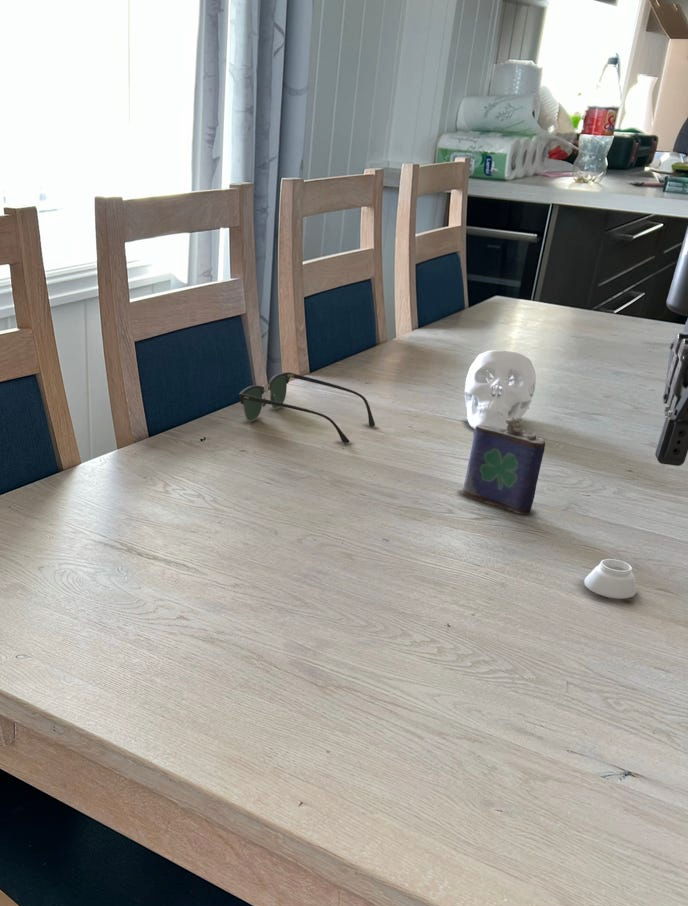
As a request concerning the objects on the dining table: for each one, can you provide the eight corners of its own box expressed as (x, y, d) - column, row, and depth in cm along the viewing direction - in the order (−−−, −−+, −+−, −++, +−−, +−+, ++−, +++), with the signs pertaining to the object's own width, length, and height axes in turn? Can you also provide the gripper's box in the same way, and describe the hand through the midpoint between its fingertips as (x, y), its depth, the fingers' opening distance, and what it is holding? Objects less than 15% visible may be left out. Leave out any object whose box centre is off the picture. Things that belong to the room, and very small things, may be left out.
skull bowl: (453, 422, 146) (470, 343, 146) (454, 448, 159) (470, 375, 160) (525, 432, 143) (542, 351, 143) (520, 458, 156) (536, 384, 157)
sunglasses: (340, 449, 136) (344, 414, 134) (233, 425, 143) (236, 391, 140) (382, 422, 149) (387, 389, 146) (283, 401, 156) (286, 370, 153)
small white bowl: (637, 605, 98) (630, 584, 102) (645, 579, 97) (638, 558, 101) (586, 597, 99) (581, 577, 103) (593, 571, 98) (588, 551, 102)
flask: (458, 493, 123) (475, 410, 118) (470, 488, 125) (487, 406, 120) (524, 516, 118) (545, 430, 113) (536, 510, 120) (556, 425, 114)
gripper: (807, 269, 71) (730, 493, 79) (761, 247, 82) (698, 445, 91) (698, 259, 72) (634, 481, 81) (668, 239, 83) (614, 435, 92)
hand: (668, 461), depth 86 cm, fingers closed
